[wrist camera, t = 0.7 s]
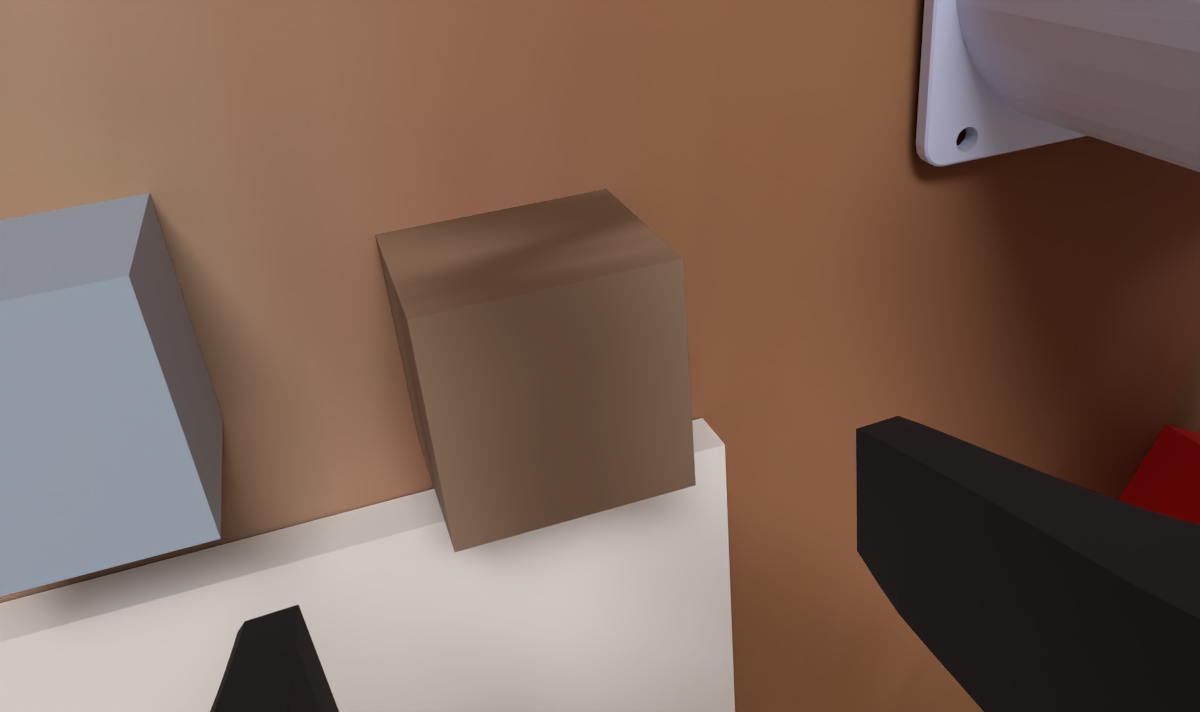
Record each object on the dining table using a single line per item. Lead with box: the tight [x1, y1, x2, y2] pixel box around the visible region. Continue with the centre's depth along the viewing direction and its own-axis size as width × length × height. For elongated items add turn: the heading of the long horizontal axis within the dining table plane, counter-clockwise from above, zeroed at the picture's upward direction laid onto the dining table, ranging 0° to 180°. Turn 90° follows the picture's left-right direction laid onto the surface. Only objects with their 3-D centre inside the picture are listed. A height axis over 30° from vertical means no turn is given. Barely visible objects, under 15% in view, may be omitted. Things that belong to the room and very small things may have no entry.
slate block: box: [0, 193, 223, 597], centre depth 16 cm, size 4×4×4 cm
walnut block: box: [375, 189, 696, 552], centre depth 18 cm, size 4×4×4 cm
